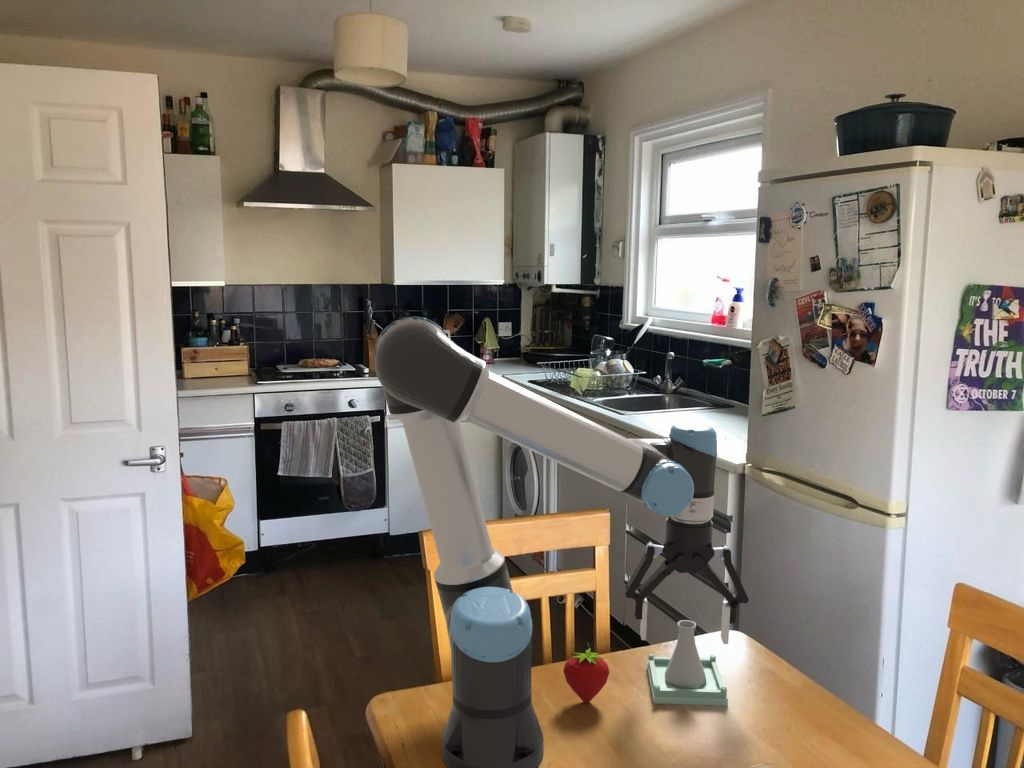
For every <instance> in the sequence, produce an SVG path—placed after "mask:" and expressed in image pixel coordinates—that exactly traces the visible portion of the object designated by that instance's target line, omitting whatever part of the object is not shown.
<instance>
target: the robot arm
mask: <svg viewBox="0 0 1024 768" xmlns="http://www.w3.org/2000/svg"><path fill="white" fill-rule="evenodd" d="M373 354H374V356H373V357H374V368H375V369H374V370H375V374H376V376H377V379H378V381H379V383H380V386H382V390H383V395H384V398H385V401H386V405H387V408H388V409H387V410H388V411H389V415H390V416H391V417H393V418H395V419H397V420H399V421H400V422H401V423H402V425H403V429H404V433H405V437H406V440H407V445H408V448H409V452H410V455H411V459H412V463H413V466H414V471H415V474H416V477H417V482H418V485H419V489H420V493H421V496H422V500H423V503H424V508H425V512H426V515H427V519H428V521H429V526H430V529H431V534H432V537H433V541H434V545H435V549H436V552H437V556H438V559H439V564H438V566H437V567H436V569H435V570H434V573H433V576H434V581H435V585H436V588H437V593H438V595H439V600H440V604H441V608H442V611H443V615H444V620H445V624H446V629H447V635H448V641H449V647H450V655H451V656H450V657H451V680H452V681H451V682H452V684H451V685H452V688H451V689H452V705H451V708H450V712H449V714H448V718H447V720H446V724H445V727H444V729H443V730H444V731H443V733H442V736H441V757H443V758H442V761H443V760H444V761H443V763H444V762H445V763H446V765H447V766H448V767H449V768H537V767H538V766H539V765H540V764H541V762H542V761H543V758H544V752H545V751H544V750H545V749H544V748H545V747H544V745H545V743H544V740H545V739H544V734H543V730H542V728H541V725H540V722H539V719H538V716H537V714H536V710H535V708H534V705H533V701H532V700H533V699H532V697H533V696H532V636H533V627H534V626H533V620H532V617H531V610H530V606H529V604H528V602H527V601H526V599H524V598H523V597H522V596H521V595H520V594H519V593H516V592H514V591H513V587H512V582H511V579H510V575H509V571H508V566H507V563H506V559H505V556H504V554H503V553H502V552H500V551H499V550H497V549H494V548H493V546H492V543H491V539H490V538H491V537H490V535H489V531H488V530H489V529H488V528H487V522H486V519H485V515H484V511H483V508H482V503H481V500H480V495H479V491H478V487H477V484H476V480H475V476H474V472H473V469H472V464H471V461H470V456H469V453H468V448H467V445H466V441H465V437H464V433H463V429H462V426H461V422H463V421H467V422H469V423H471V424H473V425H475V426H477V427H479V428H481V429H483V430H486V431H488V432H490V433H493V434H494V435H497V436H499V437H501V438H503V439H505V440H507V441H510V442H512V443H515V444H516V445H518V446H521V447H523V448H525V449H527V450H530V451H531V452H534V453H536V454H538V455H540V456H542V457H544V458H547V459H548V460H551V461H553V462H555V463H557V464H560V465H562V466H563V467H566V468H568V469H570V470H572V471H574V472H577V473H579V474H580V475H583V476H585V477H588V478H590V479H592V480H594V481H596V482H598V483H601V484H602V485H604V486H606V487H609V488H611V489H614V490H615V491H618V492H620V493H621V494H623V495H625V496H628V497H629V498H631V499H634V500H636V501H638V502H640V503H642V504H644V505H645V507H646V508H647V509H648V510H650V511H652V512H654V513H656V514H658V515H661V516H666V521H665V523H666V524H665V538H664V539H665V541H664V544H663V545H661V544H654V543H653V541H647V542H646V543H645V551H644V554H643V556H642V557H641V559H640V561H639V562H638V565H637V566H636V568H635V569H634V571H633V573H632V575H631V577H630V578H629V580H628V582H627V583H626V585H625V587H624V594H625V597H626V598H627V599H632V600H634V616H635V619H636V620H640V628H639V634H640V639H641V641H647V628H648V627H647V623H648V622H647V621H648V599H647V597H648V596H649V595H650V594H651V593H653V591H654V590H655V589H656V588H657V587H658V586H659V585H660V584H661V583H662V582H663V581H664V580H665V579H666V578H667V577H668V576H670V575H671V574H673V572H675V571H676V572H678V574H685V573H689V574H694V575H695V574H698V573H700V572H703V573H704V575H705V576H706V577H707V578H708V579H709V580H710V582H711V583H712V584H713V586H714V587H715V588H716V589H717V590H718V592H719V593H720V594H721V595H722V596H723V597H724V599H725V600H722V608H721V609H722V611H721V625H720V626H721V627H720V638H721V641H722V643H723V645H729V635H730V634H729V633H730V624H731V625H732V624H733V625H734V624H735V623H736V622H737V608H738V607H739V604H748V603H749V601H750V600H749V599H750V598H749V597H748V595H747V592H746V590H745V589H744V587H743V584H742V582H741V579H740V577H739V575H738V573H737V571H736V568H735V567H734V564H733V562H732V561H733V560H732V551H731V549H730V547H729V545H727V544H722V545H721V546H719V547H718V546H717V547H713V521H712V519H713V517H714V505H715V504H714V501H715V499H714V498H715V482H716V468H717V457H718V441H717V439H718V437H717V432H716V430H715V429H714V428H713V427H711V426H709V425H706V424H702V423H696V422H695V423H694V422H683V423H682V422H681V423H676V424H673V425H672V426H671V427H670V431H669V434H668V436H669V437H661V438H658V437H654V438H653V437H652V438H651V437H650V438H649V437H648V438H639V437H638V438H627V437H625V436H623V435H620V434H619V433H617V432H615V431H613V430H611V429H608V428H607V427H605V426H602V425H600V424H598V423H596V422H594V421H592V420H590V419H588V418H586V417H584V416H581V415H580V414H578V413H575V412H573V411H571V410H569V409H567V408H566V407H564V406H561V405H559V404H557V403H555V402H552V401H551V400H548V399H547V398H546V397H543V396H540V395H539V394H536V393H535V392H533V391H530V390H528V389H526V388H524V387H522V386H520V385H518V384H516V383H514V382H511V381H510V380H508V379H506V378H505V377H504V378H503V376H502V377H501V376H499V375H498V374H496V373H493V372H491V371H490V370H489V369H488V367H487V366H488V365H487V364H486V361H485V360H483V359H481V358H479V357H477V356H476V355H473V354H471V353H470V352H468V351H466V350H465V349H463V348H462V347H461V346H459V345H457V343H455V342H454V341H453V340H452V339H450V338H449V337H448V336H447V334H446V331H444V329H443V328H442V327H441V326H439V324H437V323H436V322H435V321H433V320H431V319H428V318H427V317H420V316H410V317H402V318H400V319H397V320H394V321H393V322H392V323H390V324H388V325H387V326H385V328H384V329H383V330H382V331H381V332H380V334H379V336H378V338H377V339H376V342H375V347H374V353H373ZM660 554H662V555H663V556H664V558H665V559H664V560H663V561H662V563H661V564H660V566H659V567H657V569H656V570H655V571H654V572H653V573H652V574H651V575H650V576H649V577H648V578H647V579H646V580H645V581H643V579H644V577H645V576H646V573H647V572H648V570H649V568H650V567H651V566H652V564H653V561H654V559H657V558H658V557H659V555H660ZM714 556H716V557H717V559H718V560H719V561H722V562H723V564H724V567H725V569H726V571H727V573H728V575H729V577H730V579H731V582H732V584H733V587H734V589H735V590H736V593H733V592H732V591H731V590H730V589H729V587H728V586H727V585H726V584H725V582H724V581H723V580H722V579H721V578H720V577H719V575H718V574H717V573H716V571H715V570H714V569H713V568H712V566H711V565H710V564H709V562H710V561H711V560H712V559H713V558H714ZM642 581H643V583H642V584H641V582H642ZM640 584H641V585H640ZM445 763H444V764H445ZM446 765H445V766H446ZM447 766H446V767H447ZM448 767H447V768H448Z"/></svg>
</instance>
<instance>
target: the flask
mask: <svg viewBox="0 0 1024 768" xmlns="http://www.w3.org/2000/svg"><path fill="white" fill-rule="evenodd" d="M676 625H677V629H678V635H677V636H678V637H677V640H676V645H675V647H674V650H673V652H672V655H671V656H670V657H671V659H670V662H669V664H668V666H667V669H666V671H665V682H668V683H670V684H672V685H675V686H677V687H680V688H695V689H698V688H699V687H701V686H702V685H704V684H705V683H706V682H707V681H706V676H705V672H704V669H703V666H702V663H701V660H700V658H701V657H700V653H699V651H698V648H697V645H696V639H695V630H696V628H697V623H696V621H695V622H694V621H692V620H688V619H683V620H682V619H681V620H679V621H677V624H676Z"/></svg>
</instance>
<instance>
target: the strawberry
mask: <svg viewBox="0 0 1024 768" xmlns="http://www.w3.org/2000/svg"><path fill="white" fill-rule="evenodd" d="M587 646H588V649H586V650H585V653H584V652H583V653H582V652H572V654H573V656H571V657H570V658H569V659H568V660H567V661H566V662H565V663H564V667H563V670H562V671H563V675H564V679H565V681H566V683H567V685H568V686H569V687H570V689H571V690H572V691H573V692H574V693H575V694H576V696H578V697H579V699H580V700H581V701H582V702H584V703H590V702H591V701H593V699H594V698H595V697H596V696H597V695H598V694H599V693H600V691H601V690H602V689H603V688H604V687H605V685H606V683H607V682H608V678H609V675H610V668H609V665H608V663H607V662H606V661H605V660H604V659H605V658H604V657H602V656H599V654H600V653H598V652H592V650H591V649H592V648H590V644H589V642H587Z"/></svg>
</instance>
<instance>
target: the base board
mask: <svg viewBox="0 0 1024 768" xmlns="http://www.w3.org/2000/svg"><path fill="white" fill-rule="evenodd" d="M647 657H648V661H646V668H647V669H646V670H647V675H648V680H649V685H650V691H651V697H652V703H653V704H659V705H660V704H661V705H662V704H663V705H689V706H690V705H692V706H696V705H697V706H719V707H720V706H726V707H727V706H729V698H728V695H727V694H728V693H727V692H728V688H727V687H725V683H724V681H723V677H722V675H721V672H720V669H719V666H718V664H717V656H715V655H713V654H712V655H709V657H706V658H705V657H699V658H700V660H701V663H702V666H703V669H704V672H705V676H706V681H707V682H706V683H705V684H704V685H702V686H701V687H699V688H698V689H695V688H680V687H677V686H675V685H672V684H670V683H668V682H665V671H666V669H667V666H668V664H669V662H670V659H671V657H672V656H669V657H668V656H655V655H654V654H653V653H648V656H647Z"/></svg>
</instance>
